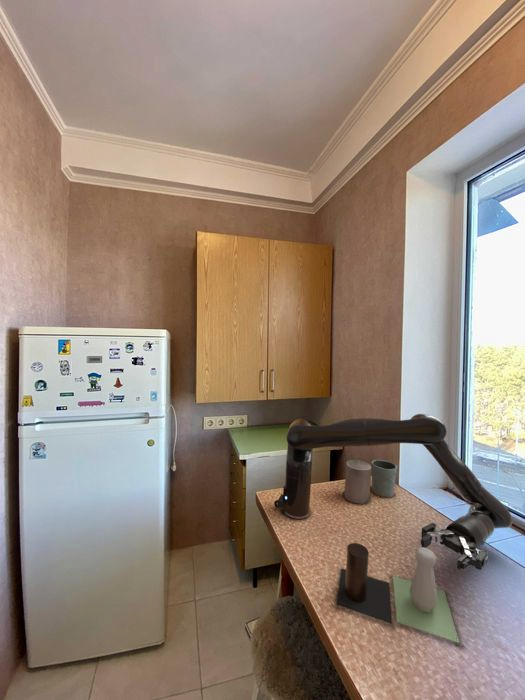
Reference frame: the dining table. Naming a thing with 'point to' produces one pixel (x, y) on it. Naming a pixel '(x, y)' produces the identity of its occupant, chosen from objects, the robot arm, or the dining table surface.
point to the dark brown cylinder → (356, 572)
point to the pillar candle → (357, 481)
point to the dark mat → (368, 599)
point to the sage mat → (430, 622)
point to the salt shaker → (424, 581)
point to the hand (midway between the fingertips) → (440, 554)
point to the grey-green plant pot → (383, 477)
